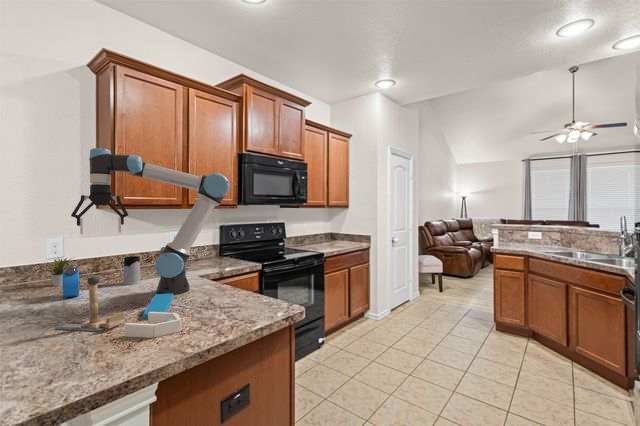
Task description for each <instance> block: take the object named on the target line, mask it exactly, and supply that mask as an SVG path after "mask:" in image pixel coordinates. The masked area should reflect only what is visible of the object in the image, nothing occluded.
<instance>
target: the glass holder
mask: <svg viewBox="0 0 640 426" xmlns="http://www.w3.org/2000/svg"><path fill="white" fill-rule="evenodd" d="M140 257H141V256H138V255H134V256H133V255H132V256H125V257H124V258H120V259H119V260H118V267H119V270H120V272H121V274H122V276H123V284H122V285H123V286H136V285H139V283H140V284H141V283H142V281H141V260H140ZM121 261H123V269H122V266H121Z"/></svg>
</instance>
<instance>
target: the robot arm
mask: <svg viewBox="0 0 640 426" xmlns="http://www.w3.org/2000/svg"><path fill="white" fill-rule="evenodd" d="M88 161H89V183H90V185H89V195H84V194H82V195H81V196H80V200H79V202H78V203H77V205H76V206H75V208H74V210H73V211H72V213H71V214H70V215H71V217H72V218H75V219H76V226H78V227H79V228H80V229H79V230H80V231H79V233H80V235H82V234H84V233H83V232H84V231H83V221H84V220H83V219H84V218H81V217H82V216H83V215H84V214H85V213H87V212H88V211H89V210H90V209H91V208H92V207H93V206H95V207H97V206H104V207H105V206H108V207H110V208H111V209H112V211H114V212H115V214H117V215H118V216H119V217H118V218H117V219H118V221H117V222H118V227H117V228H118V233H122V225H123V226H124V224H125V223H124V222H125V219H124V218H126V217H129V213H128V210H126V208H125V206H124V205H123V203H122V201H121V197H120V195H115V196H113V195H112V186H111V184H112V172H119V173H126V174H128V175H129V176H132V177H138V178H144V179H148V180H152V181H156V182H159V183H165V184H169V185H173V186H177V187H181V188H185V189H189V190H193V191H196V192H197V193H196V194H197V196H198V198H197V199H196V202H195V203H194V204H193V207H192V208H191V210H190V212H189V213H188V215H187V216H186V218H185V220H184V221H183V223H182V225H181V226H180V229H179V230H178V232H177V233H176V235H175V237H174V238H173V240H172V242H168V243H166V245H165V246H162V247H160V250H159V253H160V255H159V256H158V257H157V258H156V260H155V270H156V272H157V273H158V275H160V278H159V280H158V281H159V282H158V283H157V288H156V294H172V293H173V296H174V295H180V294H183V293H186V292H189V291H190V284H189V281H188V277H187V275H186V274H187V273H186V271H187V270H186V268H187V267H186V265H187V262H188V260H189V258H190V257H191V254H192V253H191V249H192V247H193V245H194V243H195V242H196V240H197V238H198V237H199V234H200V233H201V231H202V229H203V227H204V226H205V224H206V222H207V221H208V220H209V217H210V216H211V214H212V212H213V211H214V209H215V207H217V206H220V205H221V204H222V202H223V200H224V198H225V196H226V195H227V194H228V192H229V190H230V186H231V185H230V182H229V179H228V178H227V177H226V176H225V175H224V174H221V173H217V172H214V173H211V174H209V175H203V174H201V175H195V174H193V173H187V172H184V171H181V170H180V171H179V170H176V169H173V168H172V169H171V168H168V167H166V166H165V167H164V166H159V165H157V164H152V163H148V162H145V161H143V159H142V157H141V156H140V155H133V154H114V153H112V152H111V150H110V149H107V148H100V147H99V148H98V147H93V148H91V149H90V151H89V159H88ZM87 199H89V201H90V203H89V204H88V205H87V206H86V207H85V208H83V210H81V212H80V213H79V214H77V213H78V211H79V210H80V208H81V207H82V205H83V203H84V202H85V201H87ZM112 200H114V201H115V202H116V203H117V204H118V206H119V208H120V210H121V211H119V209H118V208H116V206H115V205H114V204H112V202H111V201H112Z"/></svg>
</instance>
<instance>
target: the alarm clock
mask: <svg viewBox="0 0 640 426" xmlns="http://www.w3.org/2000/svg"><path fill="white" fill-rule="evenodd" d="M80 281H81V280H80V268H79V267H78V266H77V265H76V264H70V265H66V268H65V270H63V285H62V297H63V298H65V300H66V299H67V298H70V297H71V298H72V297H77V296H80V286H81V285H80Z"/></svg>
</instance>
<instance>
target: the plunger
mask: <svg viewBox="0 0 640 426" xmlns="http://www.w3.org/2000/svg"><path fill="white" fill-rule="evenodd" d="M86 279H87V280H86V282H87V284H88V285H89V288H88V290H89V291H88V294H89V295H88V296H89V299H88V300H89V302H88V305H89V306H88V307H89V320H86V321H87V322H84V323H80V327H83V328H106V329H111V328H114V327H115V328H116V326H117V325H120V324H122V323H124V321H125V317H124V316H125V312H123V311H122V312H121V311H120V312H118V313H116V314H113V315H110V316H109V317H107V318H106V319H99V300H98V299H99V298H98V297H99V295H98V294H99V292H98V289H99V286H98V284H99V283H100V276H89V277H87V278H86Z"/></svg>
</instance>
